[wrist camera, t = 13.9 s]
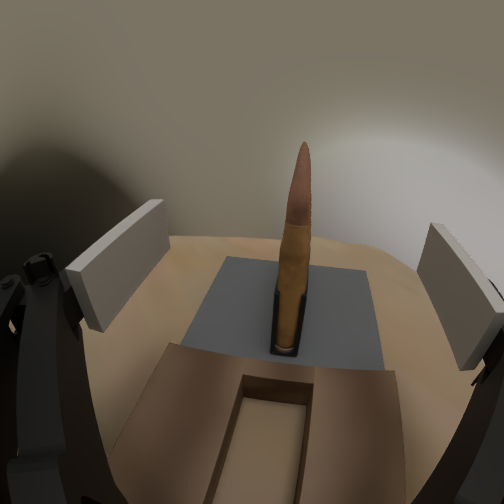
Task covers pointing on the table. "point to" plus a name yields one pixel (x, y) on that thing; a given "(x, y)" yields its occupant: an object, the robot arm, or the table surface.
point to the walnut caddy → (225, 416)
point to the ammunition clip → (293, 263)
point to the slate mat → (314, 325)
